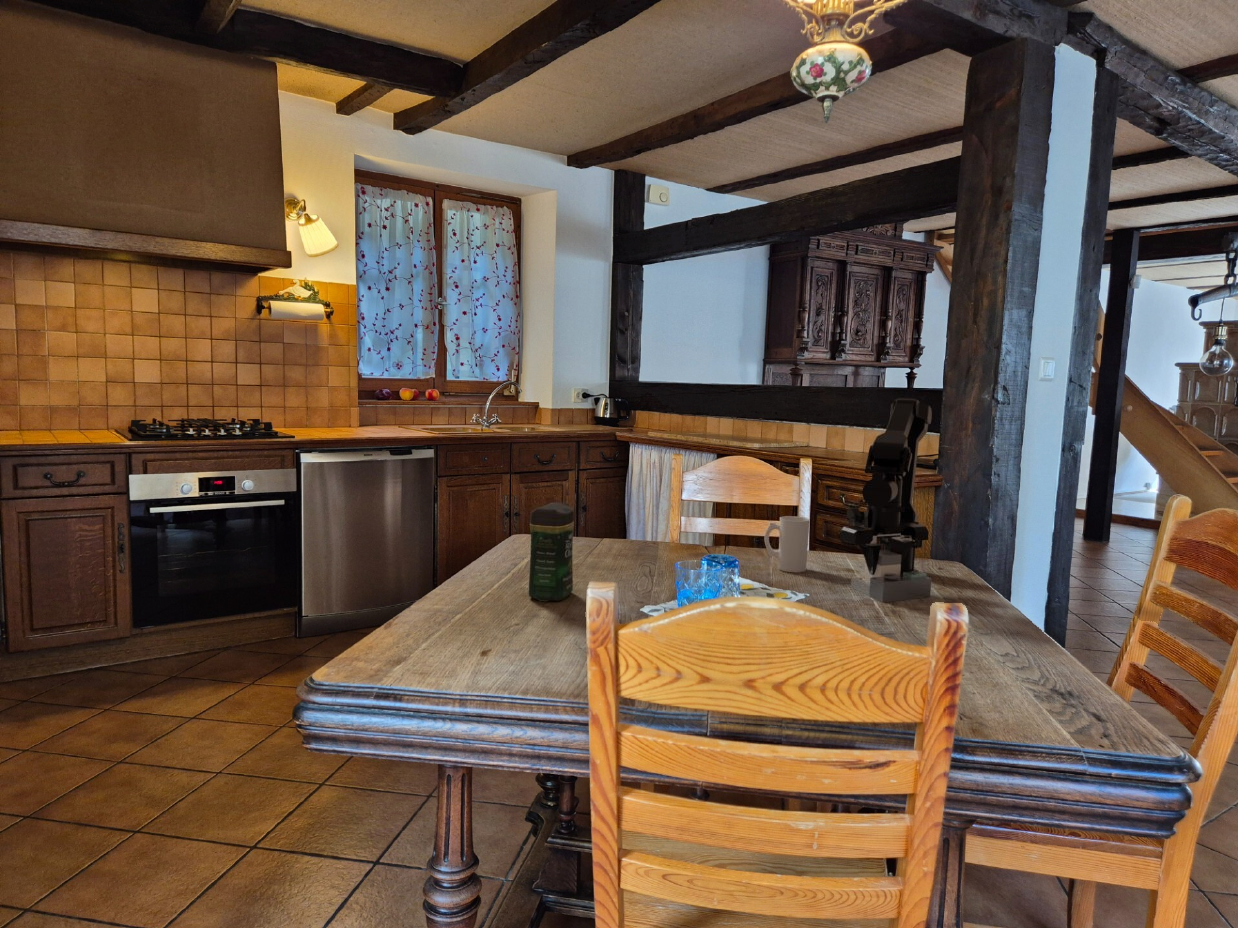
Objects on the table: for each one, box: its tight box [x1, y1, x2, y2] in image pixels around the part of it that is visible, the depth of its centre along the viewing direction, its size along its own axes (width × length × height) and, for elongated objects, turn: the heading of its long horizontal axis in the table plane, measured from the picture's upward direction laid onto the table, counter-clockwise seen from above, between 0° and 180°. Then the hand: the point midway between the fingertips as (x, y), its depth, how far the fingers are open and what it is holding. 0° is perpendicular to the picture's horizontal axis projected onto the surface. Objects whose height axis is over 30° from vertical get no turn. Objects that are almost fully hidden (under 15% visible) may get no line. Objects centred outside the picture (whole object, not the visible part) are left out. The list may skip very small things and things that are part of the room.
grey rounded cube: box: [864, 549, 901, 582], centre depth 161 cm, size 5×5×6 cm
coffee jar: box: [528, 502, 575, 602], centre depth 151 cm, size 10×8×19 cm
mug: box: [763, 515, 810, 574], centre depth 177 cm, size 10×7×12 cm, turn 78°
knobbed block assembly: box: [850, 570, 932, 603], centre depth 159 cm, size 11×12×5 cm
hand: (882, 573), depth 161 cm, fingers closed on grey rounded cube, 5 cm apart
